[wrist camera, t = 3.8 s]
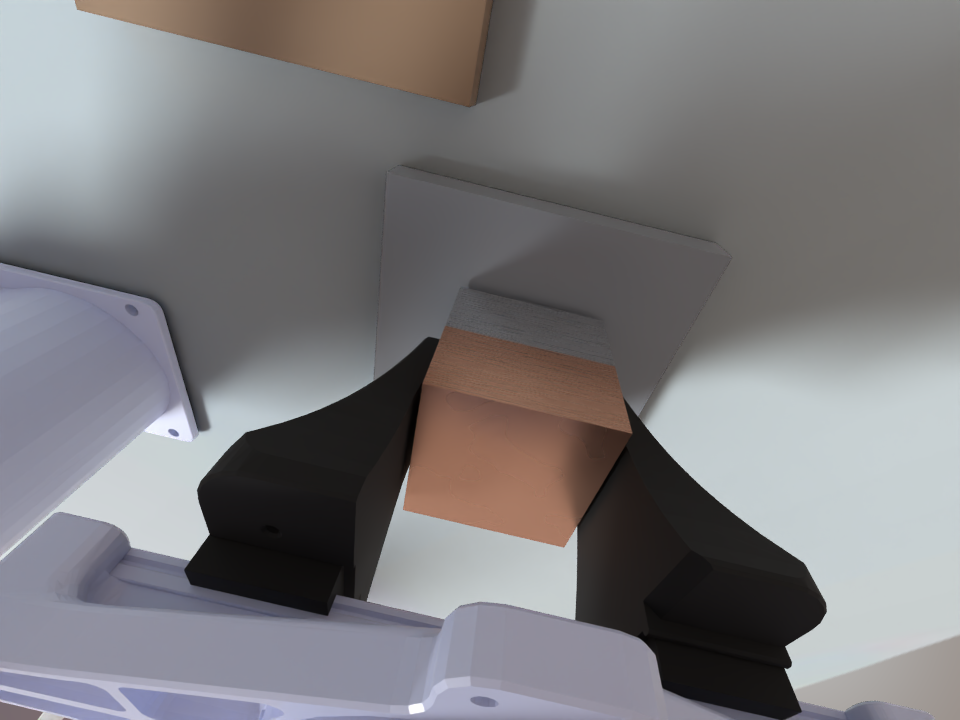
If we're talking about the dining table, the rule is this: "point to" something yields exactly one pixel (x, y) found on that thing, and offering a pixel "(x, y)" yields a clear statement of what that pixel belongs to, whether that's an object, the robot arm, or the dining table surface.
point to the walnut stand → (337, 36)
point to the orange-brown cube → (516, 419)
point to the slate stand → (537, 270)
